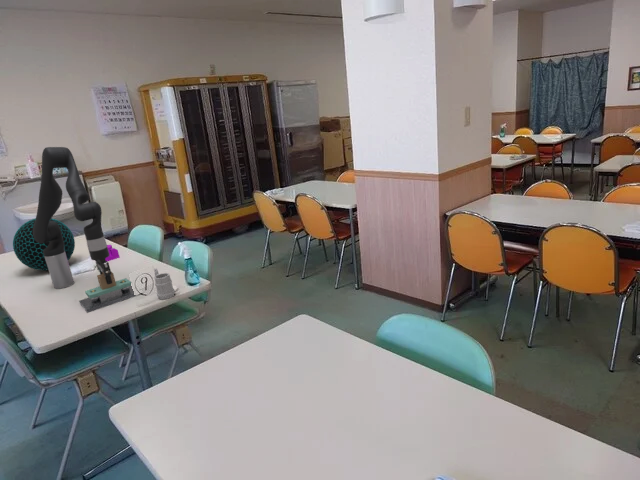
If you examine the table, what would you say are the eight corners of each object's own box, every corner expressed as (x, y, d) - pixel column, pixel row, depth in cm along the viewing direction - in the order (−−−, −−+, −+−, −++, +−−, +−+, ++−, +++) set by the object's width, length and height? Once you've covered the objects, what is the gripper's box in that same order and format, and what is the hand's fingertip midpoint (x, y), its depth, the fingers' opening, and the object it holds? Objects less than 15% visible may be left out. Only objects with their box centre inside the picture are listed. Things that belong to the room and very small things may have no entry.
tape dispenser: (94, 258, 271) (91, 248, 269) (110, 253, 277) (107, 243, 276) (104, 262, 260) (101, 252, 258) (121, 257, 266) (118, 247, 264)
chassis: (80, 303, 203) (76, 290, 201) (133, 286, 217) (130, 273, 215) (87, 312, 192) (83, 298, 190) (143, 293, 206) (139, 280, 204)
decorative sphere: (83, 255, 278) (70, 208, 270) (77, 270, 251) (61, 218, 242) (29, 266, 269) (13, 218, 260) (16, 282, 242) (-2, 229, 233)
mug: (162, 301, 195) (156, 275, 191) (151, 295, 203) (145, 270, 200) (178, 295, 200) (172, 270, 196) (167, 289, 208) (161, 265, 205)
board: (126, 281, 212) (122, 266, 209) (132, 285, 205) (128, 269, 203) (85, 294, 201) (81, 278, 199) (90, 298, 195) (85, 282, 193)
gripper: (111, 248, 194) (120, 282, 199) (102, 242, 205) (111, 275, 210) (92, 253, 190) (102, 288, 195) (84, 247, 201) (94, 280, 205)
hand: (107, 281), depth 202 cm, fingers open, 8 cm apart
